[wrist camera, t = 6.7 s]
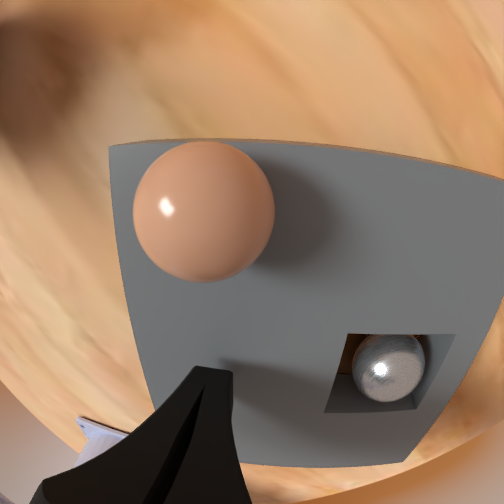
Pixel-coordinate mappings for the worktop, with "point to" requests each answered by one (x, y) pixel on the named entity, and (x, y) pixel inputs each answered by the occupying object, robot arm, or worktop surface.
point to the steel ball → (388, 366)
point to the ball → (203, 211)
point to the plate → (324, 297)
